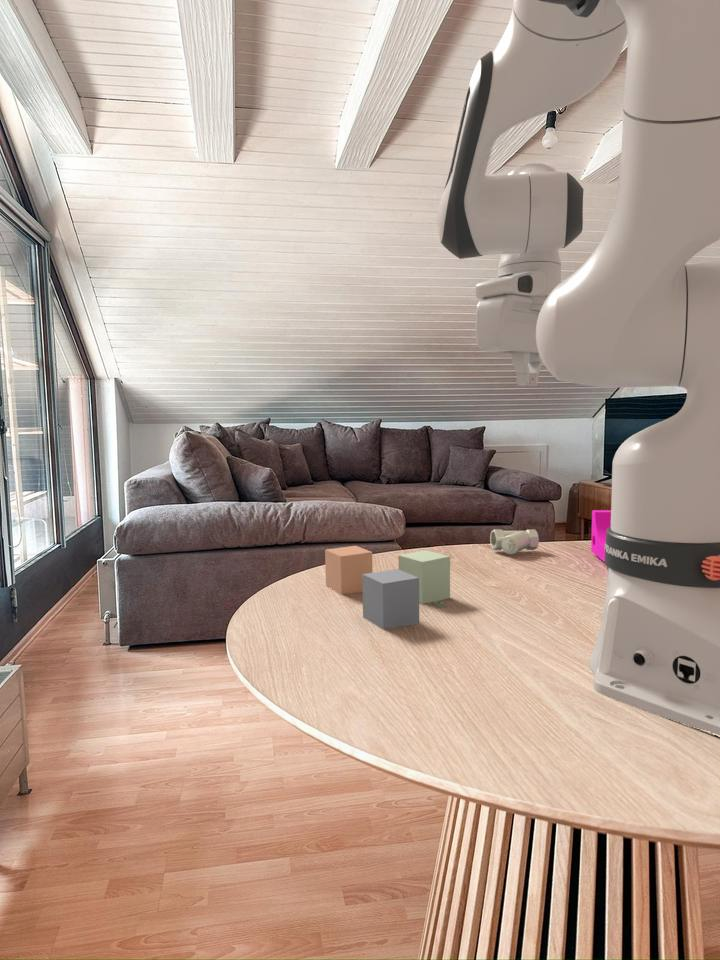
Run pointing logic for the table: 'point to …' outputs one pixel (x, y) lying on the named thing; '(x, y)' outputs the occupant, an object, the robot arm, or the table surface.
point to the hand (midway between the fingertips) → (527, 385)
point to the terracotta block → (347, 568)
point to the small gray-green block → (439, 604)
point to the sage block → (428, 574)
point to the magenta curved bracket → (600, 531)
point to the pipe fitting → (514, 540)
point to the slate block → (391, 598)
